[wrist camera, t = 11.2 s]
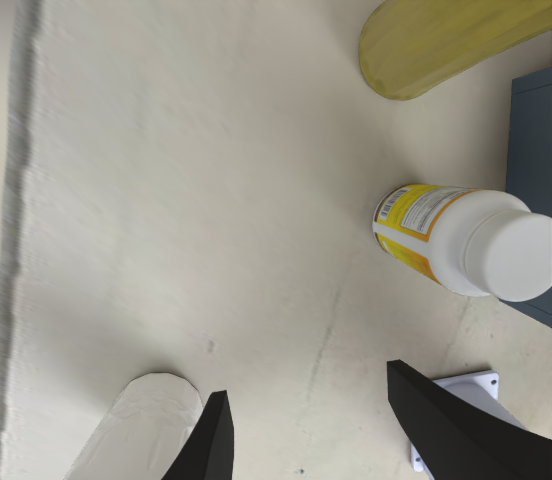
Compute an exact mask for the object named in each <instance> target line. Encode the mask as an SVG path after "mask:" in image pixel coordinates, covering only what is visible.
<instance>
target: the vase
mask: <svg viewBox="0 0 552 480" xmlns="http://www.w3.org/2000/svg"><path fill="white" fill-rule="evenodd" d="M551 29H552V0H386V1H385V2H384V3H382V4H381V5H380V6H379V7H378V8H377V9H376V10H375V11H374V12H373V13H372V14H371V16H370V17H369V19H368V20H367V22H366V24H365V26H364V28H363V31H362V34H361V37H360V43H359V61H360V66H361V70H362V72H363V75H364V77H365V79H366V81H367V82H368V84H369V85H370V86H371V87H372V88H373V89H374V90H375V91H376V92H377V93H379V94H380V95H382V96H383V97H385V98H388V99H393V100H410V99H413V98H416V97H418V96H420V95H422V94H423V93H425V92H427V91H428V90H429V89H431V88H433V87H434V86H436V85H438V84H439V83H441V82H443V81H445V80H447V79H449V78H451V77H453V76H455V75H457V74H459V73H461V72H463V71H464V70H466V69H468V68H470V67H472V66H473V65H475V64H477V63H479V62H481V61H483V60H485V59H486V58H489V57H491V56H493V55H495V54H498V53H500V52H502V51H504V50H506V49H509V48H511V47H513V46H515V45H517V44H520V43H522V42H524V41H526V40H528V39H530V38H533V37H535V36H537V35H539V34H542V33H544V32H546V31H549V30H551Z"/></svg>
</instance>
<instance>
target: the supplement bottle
mask: <svg viewBox="0 0 552 480" xmlns="http://www.w3.org/2000/svg"><path fill="white" fill-rule="evenodd" d="M372 227H373V233H374V237H375V239H376V241H377V243H378V244H379V246H380V247H381V248H382V249H383V250H384V251H385V252H387V253H388V254H390V255H391V256H393V257H395V258H396V259H398V260H400V261H402V262H403V263H405V264H407V265H408V266H410V267H412V268H413V269H415V270H417V271H419V272H420V273H422V274H424V275H425V276H427V277H429V278H430V279H432V280H434V281H435V282H437V283H439V284H440V285H442V286H444V287H445V288H447V289H449V290H451V291H453V292H455V293H457V294H460V295H464V296H470V297H481V296H488V295H494V296H496V297H498V298H500V299H503V300H506V301H513V302H519V301H526V300H530V299H532V298H535V297H537V296H539V295H541V294H542V293H544V292H545V291H547V290H548V289H549V288H550V287H551V286H552V218H550V217H548V216H545V215H542V214H536V213H531V211H530V210H529V208H528V207H527V206H526V205H525V204H524V203H523V202H522V201H521V200H520V199H518V198H517V197H515V196H513V195H511V194H508V193H505V192H501V191H495V190H485V189H471V188H459V187H446V186H434V185H423V184H407V185H403V186H400V187H397V188H395V189H393V190H392V191H390V192H389V193H388V194H386V195H385V196H384V197H383V198H382V200H381V201H380V202H379V204H378V206H377V207H376V210H375V212H374V216H373V222H372Z"/></svg>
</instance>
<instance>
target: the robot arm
mask: <svg viewBox="0 0 552 480" xmlns="http://www.w3.org/2000/svg"><path fill="white" fill-rule="evenodd" d="M387 382H388V400H389V403H390V405H391V407H392V409H393V411H394V413H395V415H396V417H397V419H398V421H399V423H400V425H401V427H402V428H403V430H404V431H405V433H406V435H407V436H408V438H409V440H410V441H411V466H412V468H413V470H414V471H416V472H419V471H424V470H425V472H426V474H427V475H428V477H429V479H430V480H552V440H551V439H548V438H545V437H542V436H540V435H537V434H535V433H532V432H530V431H529V430H527V429H526V428H525V427H524V426H523V425H522V424H521V423H520V422H519V421H518V420H517V419H516V418H515V417H514V416H512V415H511V414H510V413H509V412H508V411H507V410H506V409H505V408H504V407H503V406H502V405H501V404H500V403H498V402H497V399H498V384H499V374H498V373H497V372H496V371H495V370H488V371H483V372H477V373H472V374H466V375H461V376H455V377H450V378H444V379H439V380H433V381H431V380H430V379H428V378H427V377H425V376H424V375H422V374H421V373H419V372H418V371H416V370H415V369H414V368H412V367H411V366H409V365H408V364H406V363H405V362H403V361H401V360H400V359H399V360H394V361H388V362H387ZM233 461H234V426H233V421H232V416H231V411H230V406H229V401H228V396H227V391H226V390H224V391H218V392H213V393H212V394H211V395H210V397H209V399H208V401H207V403H206V406H205V408H204V410H203V412H202V414H201V416H200V418H199V420H198V421H197V423H196V425H195V427H194V429H193V431H192V432H191V434H190V436H189V438H188V439H187V441H186V443H185V444H184V446H183V448H182V449H181V451H180V452H179V454H178V456H177V457H176V459H175V460H174V462H173V463H172V465H171V466H170V468H169V469H168V470H167V472H166V473H165V475H164V476H163V477H162V479H161V480H232V471H233Z"/></svg>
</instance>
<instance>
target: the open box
mask: <svg viewBox="0 0 552 480" xmlns="http://www.w3.org/2000/svg"><path fill="white" fill-rule="evenodd" d="M506 193H508V194H511V195H513V196H515V197H517V198H518V199H520V200H521V201H522V202H523V203H524V204H525V205H526V206H527V207H528V208H529V210H530V211H531V213H536V214H542V215H545V216H548V217H550V218H552V67H550V68H547V69H544V70H541V71H538V72H534V73H531V74H528V75H525V76H522V77H519V78H516V79H513V83H512V100H511V116H510V132H509V148H508V163H507V179H506ZM499 301H501V302H503V303H505V304H507V305H508V306H510V307H512V308H514V309H516V310H518V311H520V312H522V313H524V314H526V315H527V316H529V317H531V318H533V319H535V320H537V321H539V322H541V323H543V324H545V325H547V326H548V327H550V328H552V286H551V287H550V288H549V289H548V290H547V291H545V292H544V293H542V294H541V295H539V296H537V297H535V298H532V299H530V300H526V301H519V302H513V301H506V300H503V299H500V298H499Z"/></svg>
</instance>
